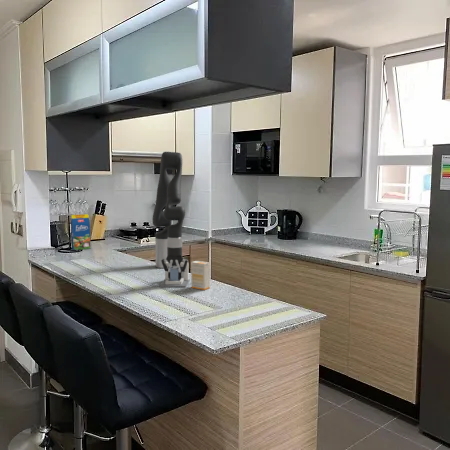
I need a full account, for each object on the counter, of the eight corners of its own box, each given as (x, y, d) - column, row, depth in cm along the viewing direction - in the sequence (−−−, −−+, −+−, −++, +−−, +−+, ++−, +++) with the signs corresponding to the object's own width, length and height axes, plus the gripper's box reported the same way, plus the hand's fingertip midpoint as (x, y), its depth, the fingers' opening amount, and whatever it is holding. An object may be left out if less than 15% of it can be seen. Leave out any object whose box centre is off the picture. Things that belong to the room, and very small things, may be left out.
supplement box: (210, 288, 225) (210, 262, 223) (204, 290, 221) (204, 263, 219) (196, 285, 230) (196, 260, 228) (190, 287, 226) (190, 261, 224)
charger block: (171, 279, 235) (171, 267, 234) (179, 279, 235) (179, 267, 234) (170, 281, 231) (170, 268, 230) (178, 281, 231) (178, 269, 230)
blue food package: (90, 248, 331) (89, 214, 328) (73, 250, 325) (72, 215, 322) (88, 247, 337) (87, 213, 334) (71, 248, 330) (70, 214, 327)
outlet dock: (164, 280, 240) (164, 262, 239) (189, 281, 239) (189, 262, 238) (159, 286, 227) (159, 267, 226) (185, 287, 226) (185, 267, 225)
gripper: (189, 244, 234) (189, 277, 236) (162, 244, 235) (162, 277, 237) (187, 247, 227) (187, 281, 229) (159, 246, 227) (159, 280, 230)
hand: (174, 279), depth 233 cm, fingers closed on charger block, 4 cm apart
